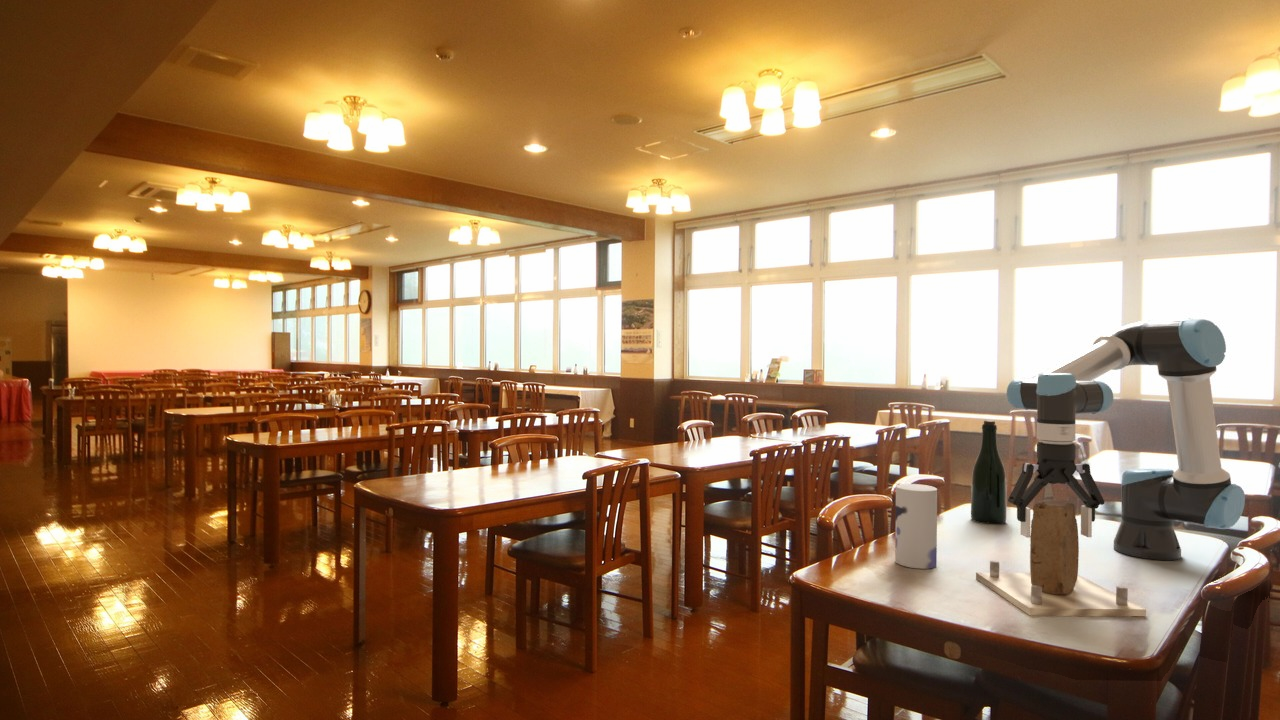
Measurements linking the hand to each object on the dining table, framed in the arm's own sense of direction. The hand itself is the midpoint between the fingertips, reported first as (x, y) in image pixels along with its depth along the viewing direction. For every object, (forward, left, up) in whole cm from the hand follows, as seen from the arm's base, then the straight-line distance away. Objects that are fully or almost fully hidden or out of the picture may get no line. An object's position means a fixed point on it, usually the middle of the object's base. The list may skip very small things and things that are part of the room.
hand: (1055, 536), depth 158 cm
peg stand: (0, 0, -14) cm, 14 cm away
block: (0, 0, -12) cm, 12 cm away
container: (+22, -24, -14) cm, 35 cm away
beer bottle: (-20, -72, -14) cm, 76 cm away
